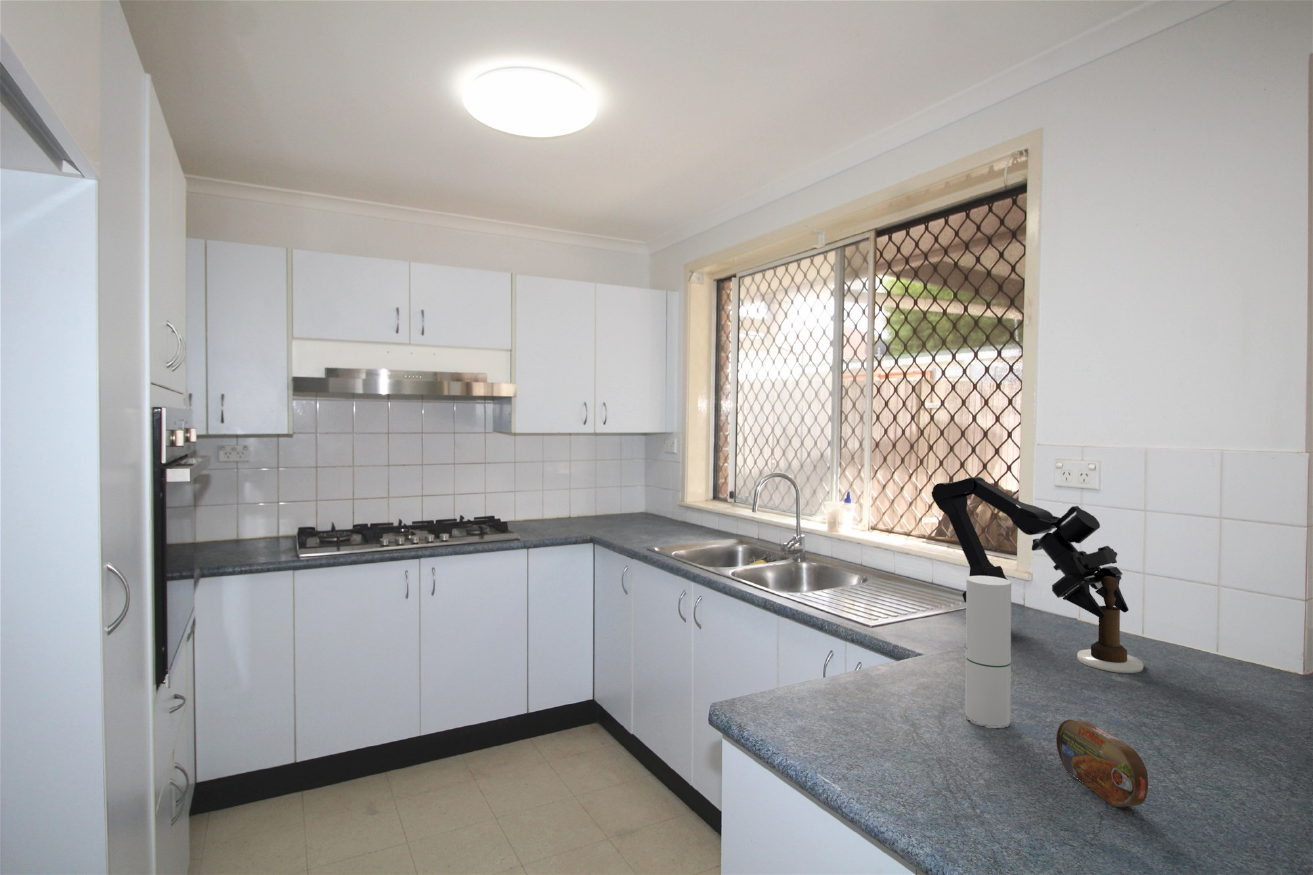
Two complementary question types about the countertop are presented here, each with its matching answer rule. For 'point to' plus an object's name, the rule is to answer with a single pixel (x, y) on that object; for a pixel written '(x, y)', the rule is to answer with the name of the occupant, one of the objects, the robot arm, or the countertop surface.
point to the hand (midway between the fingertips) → (1115, 614)
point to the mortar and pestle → (1109, 627)
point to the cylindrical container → (988, 649)
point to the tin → (1102, 763)
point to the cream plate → (1110, 663)
